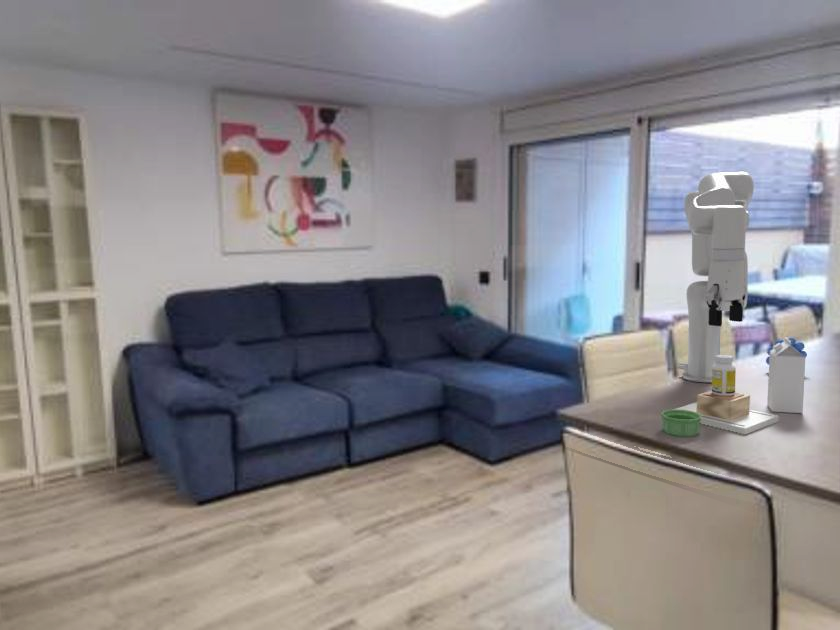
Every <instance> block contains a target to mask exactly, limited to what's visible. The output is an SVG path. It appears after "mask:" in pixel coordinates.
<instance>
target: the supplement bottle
mask: <svg viewBox="0 0 840 630" xmlns="http://www.w3.org/2000/svg"><path fill="white" fill-rule="evenodd" d="M715 360H716V364H714V365H713V366H712V383H711V390H712V393H713V394H715V395H719V396H732V395H734V394H735V393H736V375H737V374H736V366H735V365H734V364H733V361H734V357H733V355H729V354H720V355H716V357H715Z"/></svg>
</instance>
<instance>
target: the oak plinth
mask: <svg viewBox="0 0 840 630" xmlns="http://www.w3.org/2000/svg"><path fill="white" fill-rule="evenodd" d="M696 402H697V409H696V413H700V414H704V415H709V416H713V417H717V418H722V419H726V420H733V419H736V418H739V417H741V416H744V415H747V414H749V410H751V409H750V407H751V406H750V404H751V395H748V394H744V393H740V392H739V393H738V392H735V394H734V395H732V396H719V395H715V394H713V393H712V389H711V390H709V391H705V392H703V393H699V394H696Z"/></svg>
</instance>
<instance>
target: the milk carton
mask: <svg viewBox="0 0 840 630" xmlns="http://www.w3.org/2000/svg"><path fill="white" fill-rule="evenodd" d="M772 347H773V348H774V349H772V350H771V351H770V355H768V357H769V365H768V378H767V379H768V381H767V382H768V383H767V385H768V386H767V406H768V408H769V410H770V411H771V412H774V413H775V412H776V413H791V414H803V413H804V396H805V392H804V391H805V377H806V376H805V373H806V358H805V356H803V355H802V354H801V353H800V352H798V351H797V350H796V349H795V348H793V347H792V346H791V341H790V340H789V339H788V337H787V336H784V342H782V343H778V344H776V345H775V344H774V345H773V346H772Z"/></svg>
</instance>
